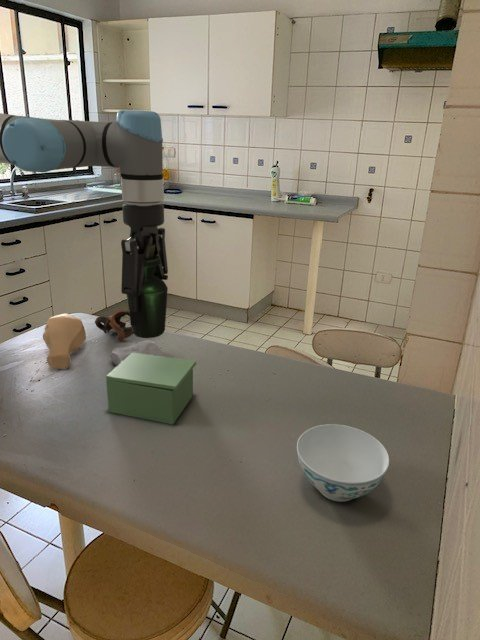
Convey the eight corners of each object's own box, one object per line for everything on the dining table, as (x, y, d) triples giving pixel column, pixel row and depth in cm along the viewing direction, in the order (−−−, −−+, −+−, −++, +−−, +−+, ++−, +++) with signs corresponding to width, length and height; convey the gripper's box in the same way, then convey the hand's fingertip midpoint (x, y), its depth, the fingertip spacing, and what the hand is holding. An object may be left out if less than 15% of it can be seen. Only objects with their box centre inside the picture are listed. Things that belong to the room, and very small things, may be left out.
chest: (192, 396, 105) (192, 365, 102) (172, 424, 94) (172, 391, 92) (134, 385, 108) (132, 355, 105) (108, 412, 98) (106, 379, 95)
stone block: (168, 371, 119) (152, 349, 125) (169, 356, 116) (153, 335, 123) (123, 384, 113) (109, 360, 120) (123, 368, 110) (109, 345, 117)
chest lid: (196, 364, 102) (196, 360, 101) (176, 390, 91) (175, 386, 91) (132, 355, 105) (132, 352, 105) (106, 379, 95) (105, 376, 95)
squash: (86, 336, 133) (88, 309, 129) (82, 378, 116) (85, 348, 112) (45, 333, 129) (47, 305, 125) (35, 375, 113) (37, 344, 109)
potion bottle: (159, 342, 90) (156, 252, 83) (121, 337, 92) (114, 248, 85) (174, 327, 97) (173, 242, 91) (139, 322, 99) (134, 239, 92)
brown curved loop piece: (134, 327, 141) (140, 309, 135) (133, 352, 135) (140, 334, 129) (93, 321, 136) (98, 302, 131) (90, 346, 130) (96, 327, 125)
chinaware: (293, 455, 87) (296, 420, 84) (374, 463, 86) (380, 428, 83) (293, 516, 73) (297, 477, 70) (390, 526, 72) (398, 487, 69)
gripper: (149, 194, 95) (153, 298, 104) (93, 209, 76) (103, 334, 85) (183, 197, 93) (184, 303, 102) (135, 212, 75) (141, 340, 83)
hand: (147, 317), depth 93 cm, fingers closed on potion bottle, 8 cm apart
